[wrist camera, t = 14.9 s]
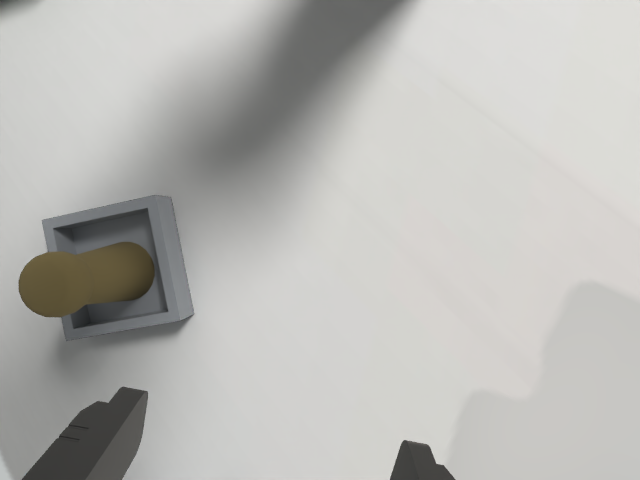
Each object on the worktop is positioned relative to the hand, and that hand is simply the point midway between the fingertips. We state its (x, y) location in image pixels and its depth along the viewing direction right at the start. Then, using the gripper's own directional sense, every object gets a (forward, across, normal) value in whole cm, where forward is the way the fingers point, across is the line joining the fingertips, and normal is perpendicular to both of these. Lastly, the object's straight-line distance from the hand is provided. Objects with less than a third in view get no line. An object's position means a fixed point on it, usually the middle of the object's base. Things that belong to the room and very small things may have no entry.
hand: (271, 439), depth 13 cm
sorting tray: (+30, +16, +7) cm, 35 cm away
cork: (+29, +16, +8) cm, 34 cm away
